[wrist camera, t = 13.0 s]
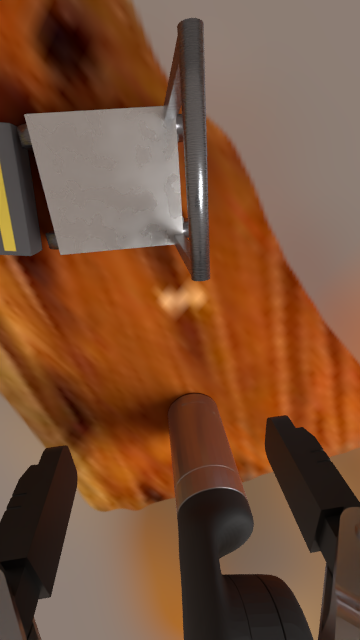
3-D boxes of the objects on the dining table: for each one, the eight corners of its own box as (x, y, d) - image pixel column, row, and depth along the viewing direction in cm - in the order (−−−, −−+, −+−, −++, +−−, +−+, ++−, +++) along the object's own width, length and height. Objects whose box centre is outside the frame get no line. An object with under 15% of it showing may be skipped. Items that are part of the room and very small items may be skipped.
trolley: (190, 123, 32) (258, 15, 12) (195, 231, 37) (248, 276, 17) (29, 133, 30) (-178, 31, 11) (58, 243, 36) (-49, 306, 16)
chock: (-17, 127, 30) (-40, 118, 26) (26, 131, 31) (9, 122, 27) (7, 247, 35) (-10, 254, 32) (43, 249, 36) (31, 256, 32)
